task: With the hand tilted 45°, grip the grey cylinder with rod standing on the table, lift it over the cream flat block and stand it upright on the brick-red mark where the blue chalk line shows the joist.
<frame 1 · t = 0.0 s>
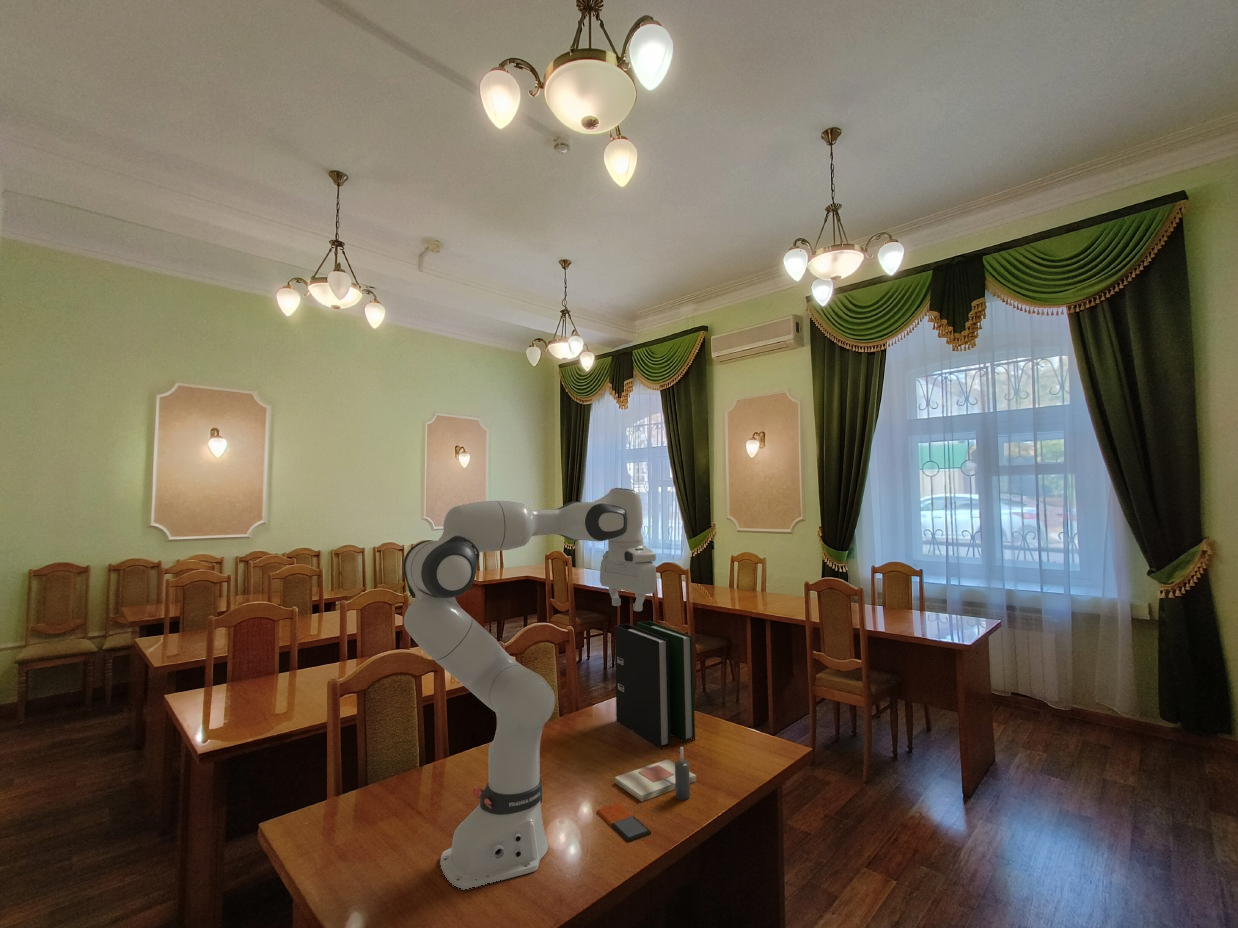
hand: (626, 608, 146), 48 cm above the table, tool pointing down, fingers open, 8 cm apart
binder: (654, 730, 190), on the table
cream flat block: (655, 781, 155), on the table
grey cylinder with rod: (682, 796, 147), on the table
phone: (623, 825, 136), on the table
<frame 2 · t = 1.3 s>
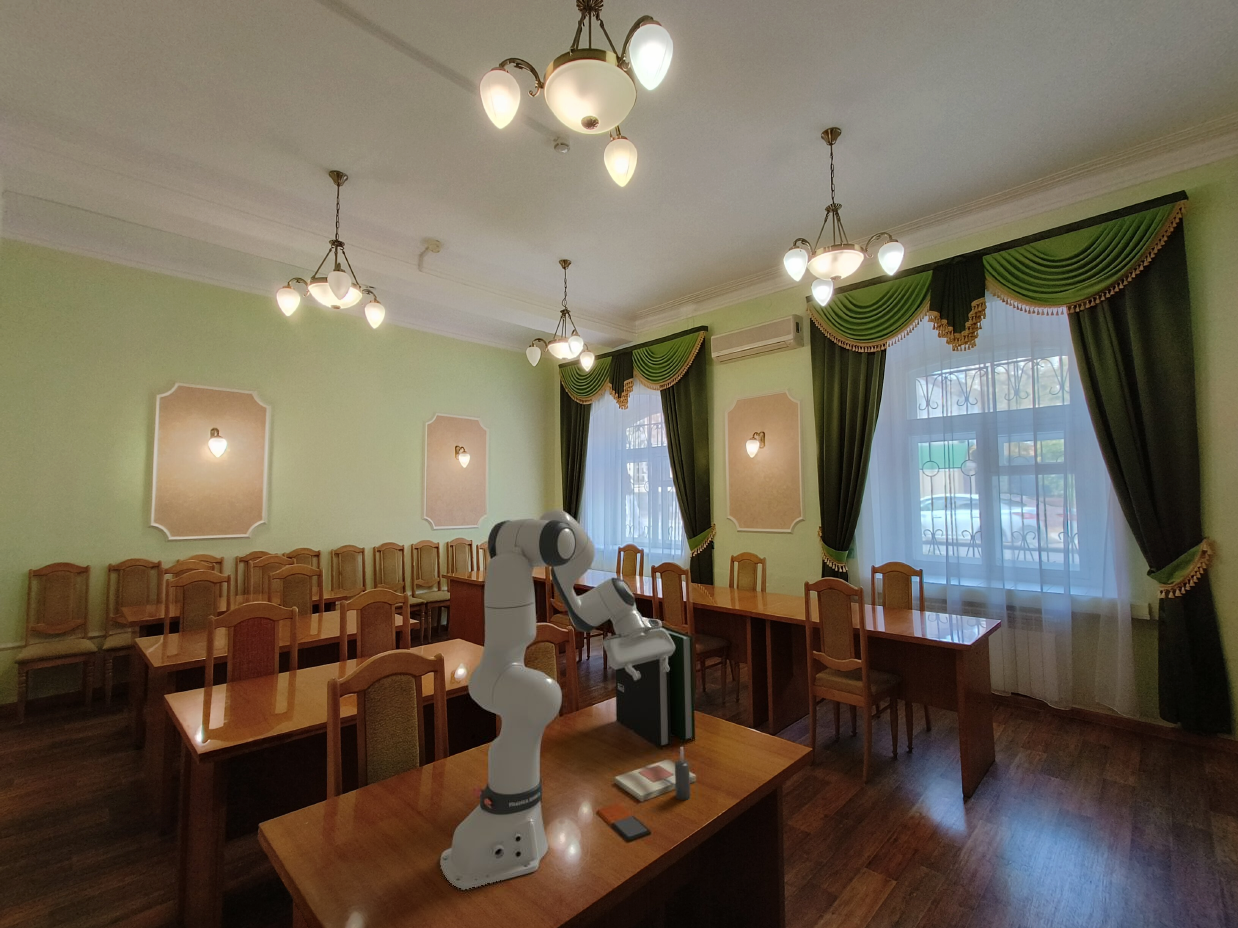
hand: (652, 674, 158), 27 cm above the table, tool tilted 45°, fingers open, 8 cm apart
nothing on the table moved.
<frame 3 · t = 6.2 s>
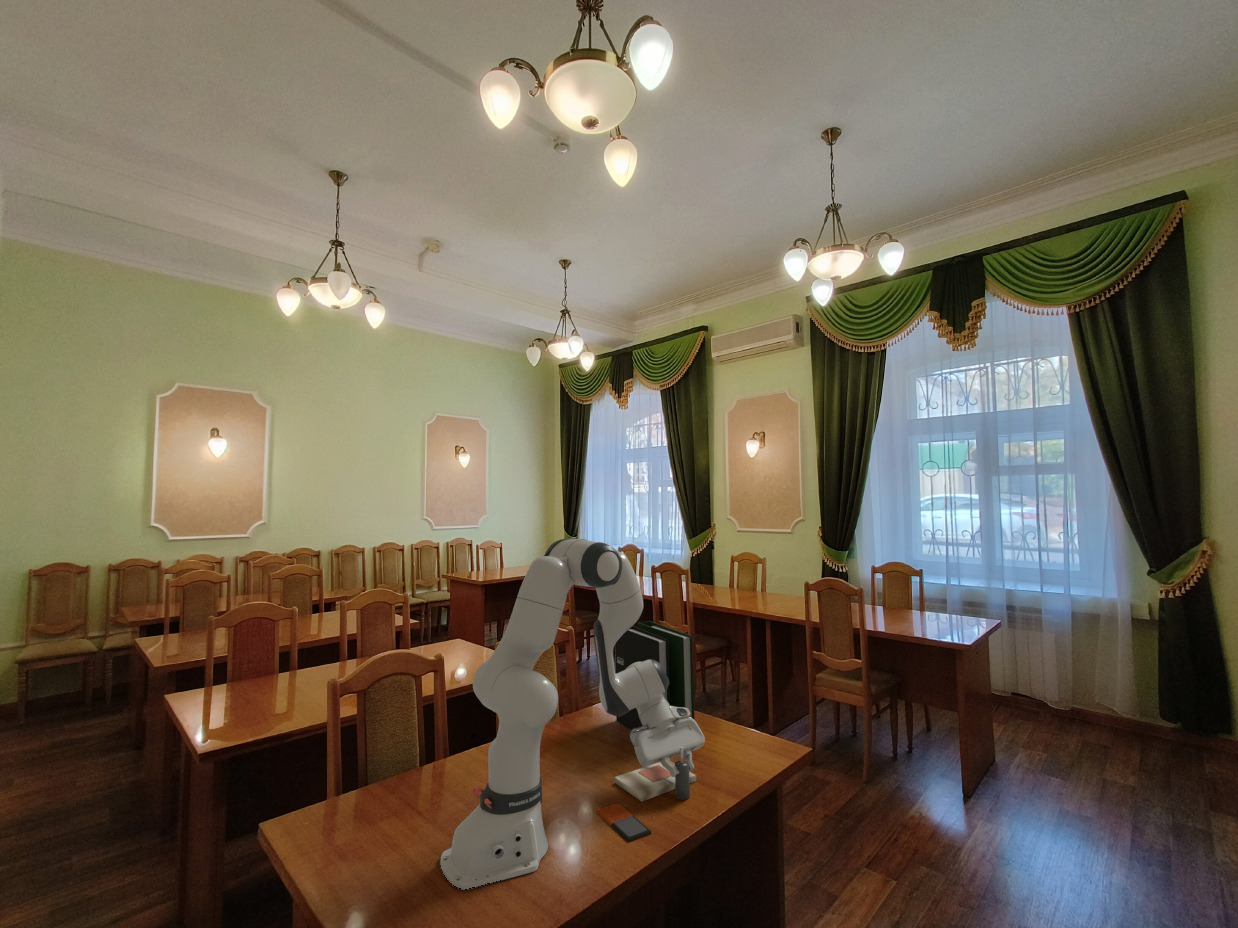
hand: (683, 772, 147), 6 cm above the table, tool tilted 45°, fingers closed on grey cylinder with rod, 4 cm apart
grey cylinder with rod: (682, 796, 147), on the table, touching gripper
everything else where it was.
when the fingers open (9 cm above the table, at t = 10.3 s): grey cylinder with rod drops 1 cm, resting on cream flat block.
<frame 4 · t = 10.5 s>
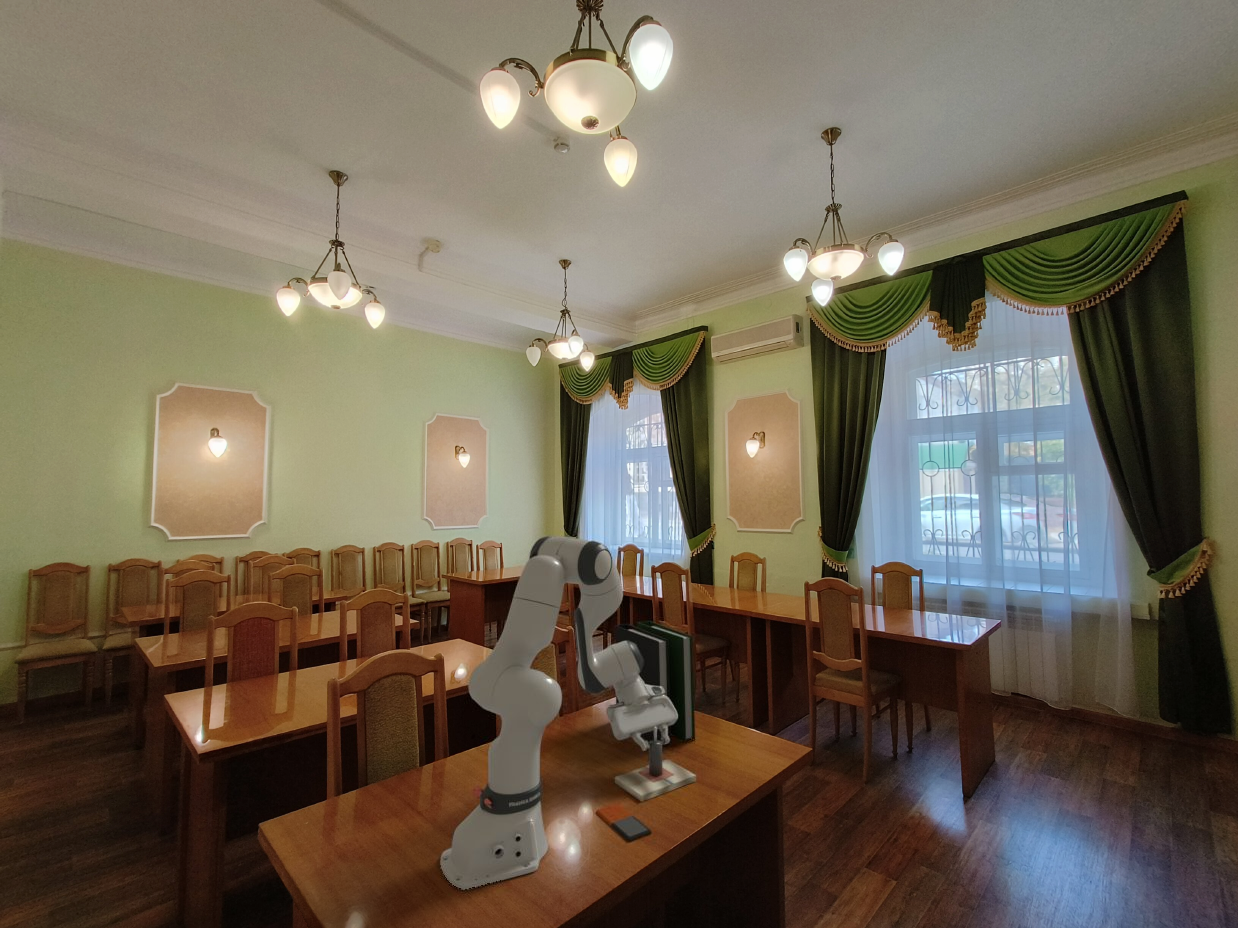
hand: (656, 745, 156), 9 cm above the table, tool tilted 45°, fingers open, 5 cm apart
grey cylinder with rod: (655, 773, 156), point 2 cm above the table, touching cream flat block
everything else where it was.
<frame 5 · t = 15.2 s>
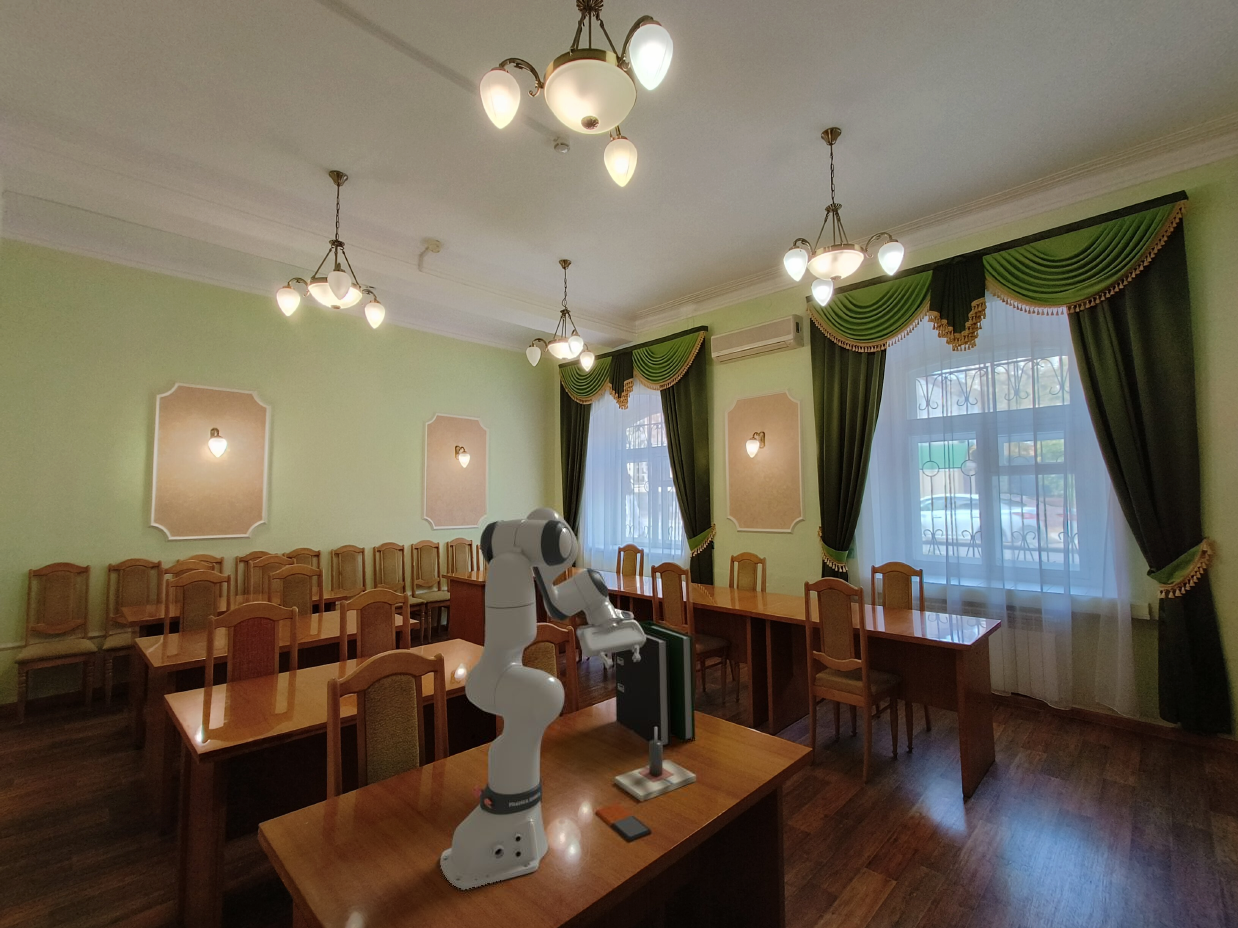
hand: (624, 663, 163), 29 cm above the table, tool tilted 45°, fingers open, 8 cm apart
nothing on the table moved.
at the end: grey cylinder with rod 0.1 cm from the target spot, point 1.7 cm above the table; grey cylinder with rod tilted 1°; the gripper is holding nothing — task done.
